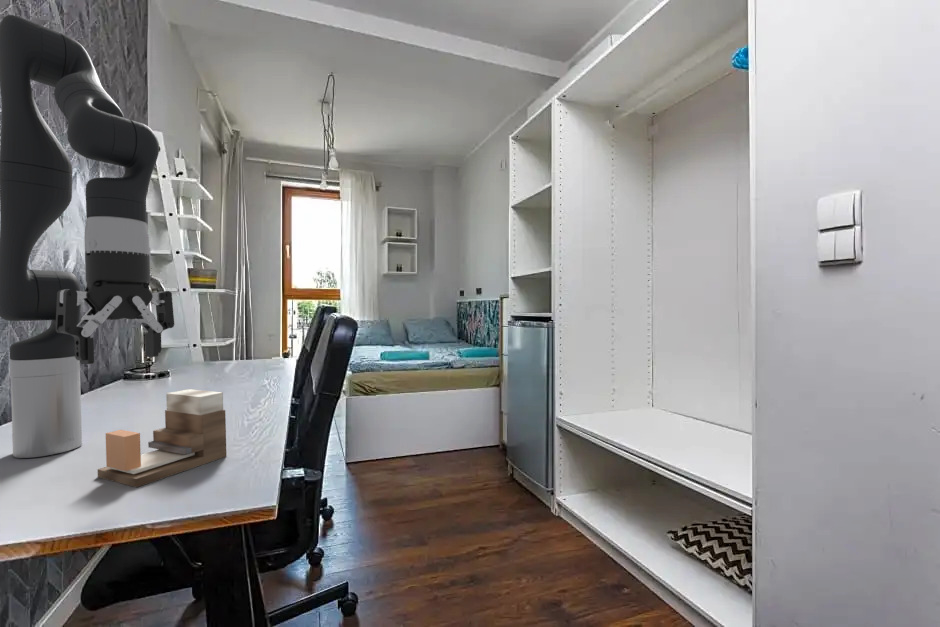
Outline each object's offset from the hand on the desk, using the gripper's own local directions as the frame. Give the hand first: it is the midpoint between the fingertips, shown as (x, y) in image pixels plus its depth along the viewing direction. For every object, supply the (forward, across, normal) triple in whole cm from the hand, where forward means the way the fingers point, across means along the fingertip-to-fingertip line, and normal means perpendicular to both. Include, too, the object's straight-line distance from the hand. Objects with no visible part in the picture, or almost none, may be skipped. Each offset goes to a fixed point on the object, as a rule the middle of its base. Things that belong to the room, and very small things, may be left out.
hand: (121, 360), depth 66 cm
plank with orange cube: (+17, -4, 0) cm, 17 cm away
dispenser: (+18, -7, 0) cm, 19 cm away
